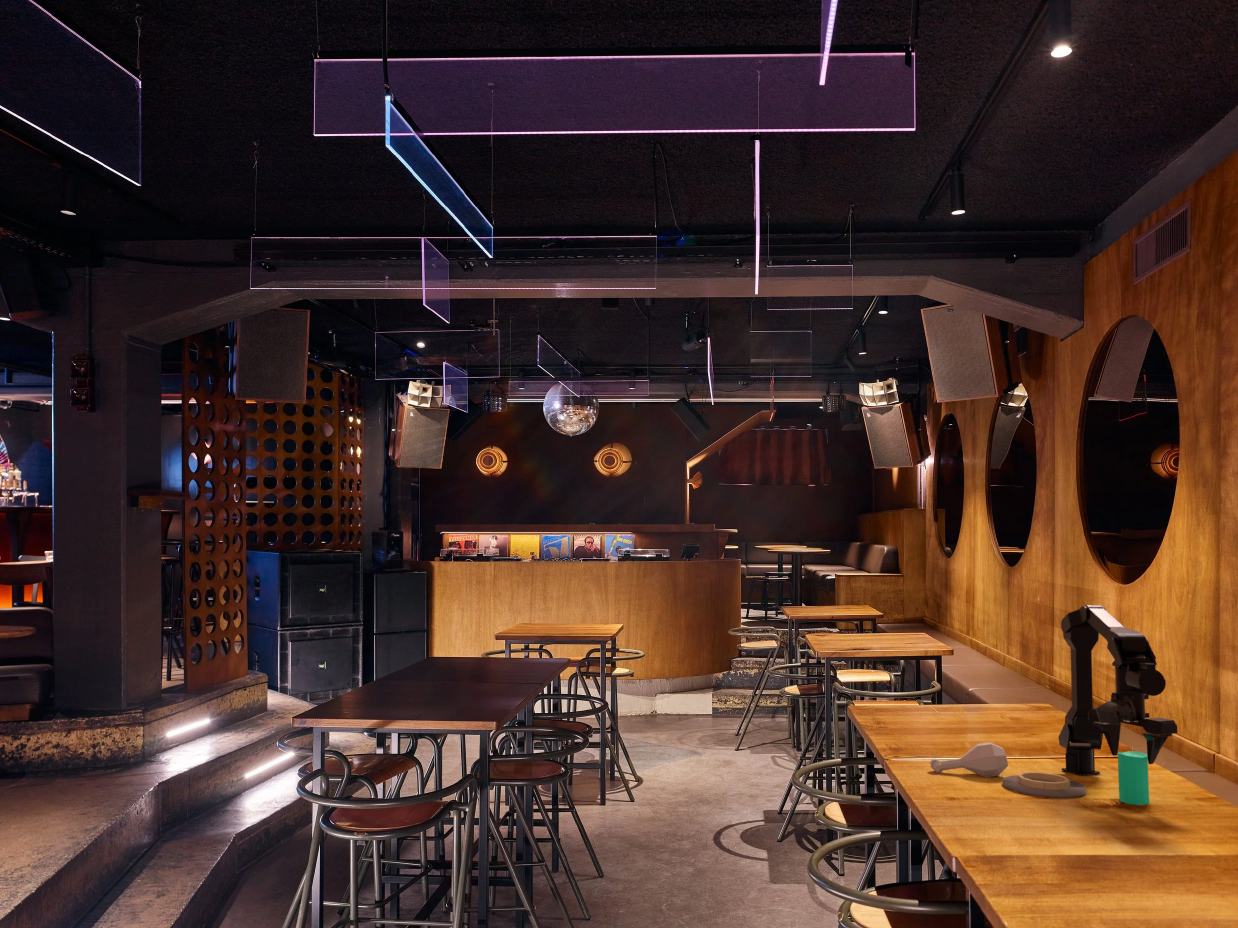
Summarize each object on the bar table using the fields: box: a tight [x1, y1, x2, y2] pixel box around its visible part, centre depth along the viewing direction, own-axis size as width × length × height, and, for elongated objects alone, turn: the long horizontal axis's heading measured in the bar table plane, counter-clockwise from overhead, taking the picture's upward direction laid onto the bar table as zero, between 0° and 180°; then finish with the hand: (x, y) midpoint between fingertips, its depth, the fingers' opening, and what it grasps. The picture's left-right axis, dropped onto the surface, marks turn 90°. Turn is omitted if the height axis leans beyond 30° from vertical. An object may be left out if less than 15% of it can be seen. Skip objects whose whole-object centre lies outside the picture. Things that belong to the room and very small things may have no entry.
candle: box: [1117, 746, 1150, 806], centre depth 212 cm, size 6×6×12 cm
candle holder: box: [1001, 771, 1087, 799], centre depth 222 cm, size 18×18×2 cm
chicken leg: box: [929, 741, 1009, 778], centre depth 236 cm, size 8×18×8 cm, turn 76°
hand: (1132, 759), depth 212 cm, fingers open, 9 cm apart
